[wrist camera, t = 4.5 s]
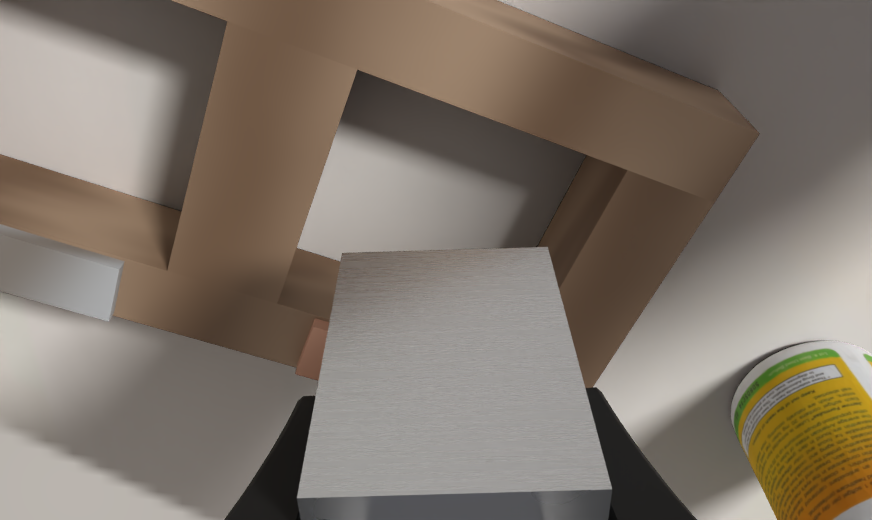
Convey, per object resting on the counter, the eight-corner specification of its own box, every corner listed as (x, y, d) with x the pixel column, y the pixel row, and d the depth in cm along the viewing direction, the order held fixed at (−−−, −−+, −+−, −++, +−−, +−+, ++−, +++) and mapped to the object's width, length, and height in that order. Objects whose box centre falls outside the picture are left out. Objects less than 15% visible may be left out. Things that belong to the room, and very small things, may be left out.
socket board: (719, 90, 21) (766, 139, 18) (544, 377, 26) (558, 450, 23) (-157, -266, 16) (-283, -278, 13) (-148, 169, 22) (-237, 227, 19)
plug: (547, 246, 15) (626, 542, 9) (538, 401, 17) (598, 721, 11) (342, 252, 15) (286, 551, 9) (359, 406, 17) (322, 729, 11)
